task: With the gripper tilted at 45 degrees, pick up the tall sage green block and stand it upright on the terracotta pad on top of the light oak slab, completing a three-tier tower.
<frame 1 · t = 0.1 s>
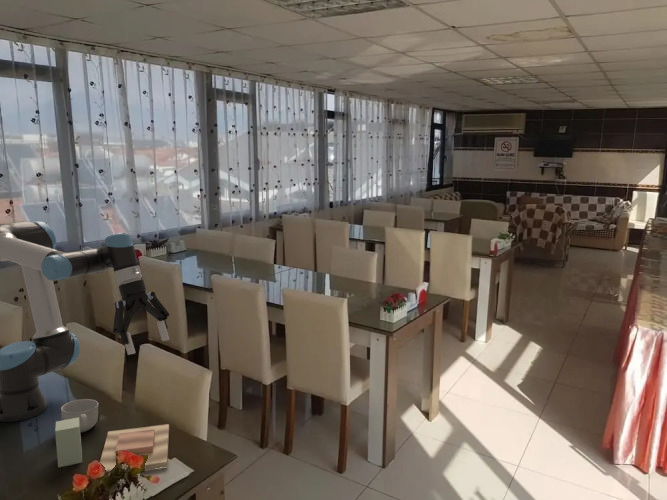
hand: (149, 347, 161), 28 cm above the table, tool tilted 20°, fingers open, 13 cm apart
pillar block: (70, 459, 148), on the table
teacup: (81, 431, 165), on the table
stand: (136, 452, 152), on the table
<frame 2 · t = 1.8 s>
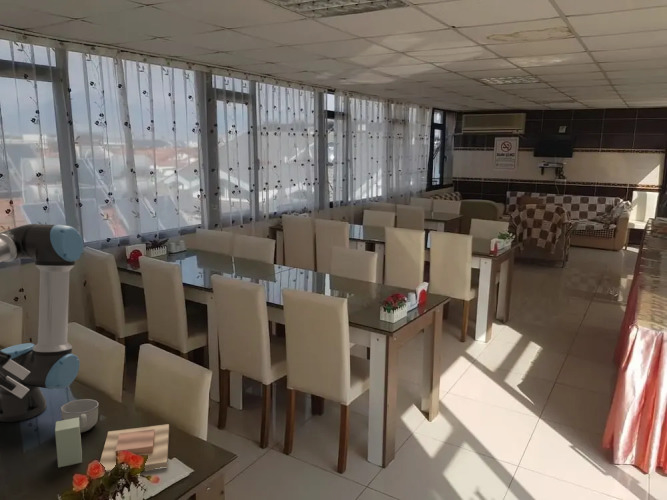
hand: (26, 384, 141), 25 cm above the table, tool tilted 45°, fingers open, 13 cm apart
nothing on the table moved.
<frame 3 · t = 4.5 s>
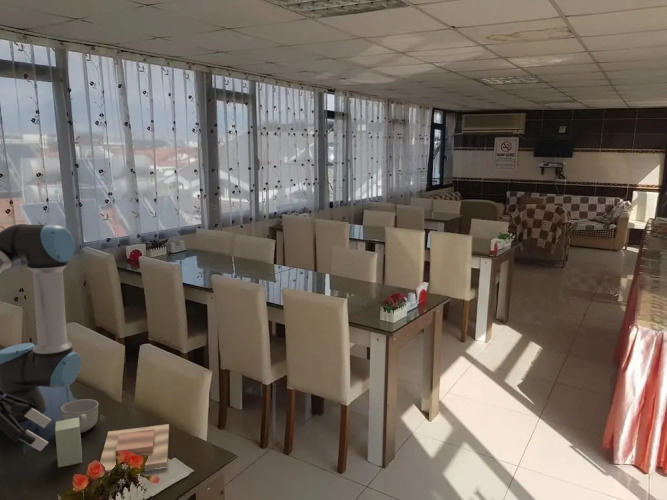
hand: (46, 434, 143), 10 cm above the table, tool tilted 45°, fingers open, 13 cm apart
nothing on the table moved.
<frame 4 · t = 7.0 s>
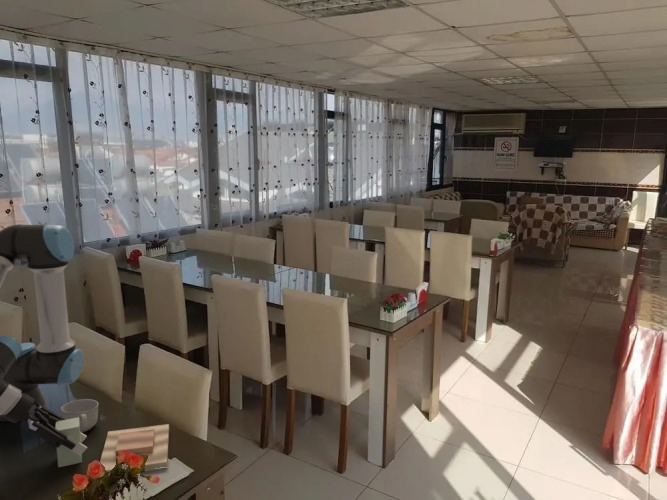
hand: (83, 445, 149), 3 cm above the table, tool tilted 45°, fingers closed on pillar block, 6 cm apart
pillar block: (70, 459, 148), on the table, touching gripper
everything else where it was.
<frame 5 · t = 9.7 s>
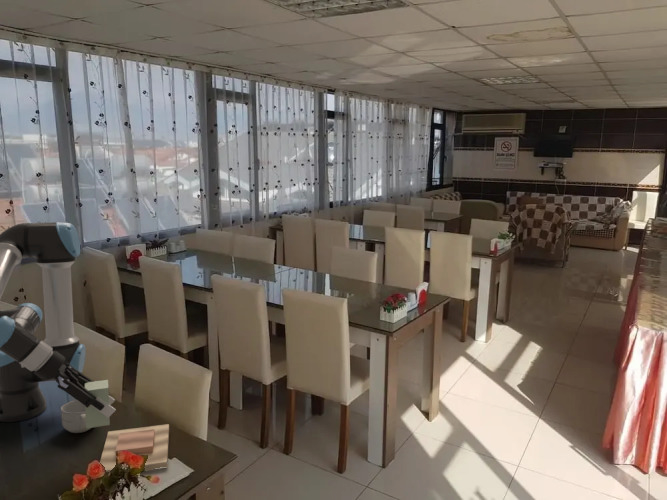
hand: (111, 408, 147), 15 cm above the table, tool tilted 45°, fingers closed on pillar block, 6 cm apart
pillar block: (98, 421, 146), point 12 cm above the table, touching gripper
everything else where it was.
when the fingers open (9 cm above the table, at t = 12.3 s): pillar block drops 1 cm, resting on stand.
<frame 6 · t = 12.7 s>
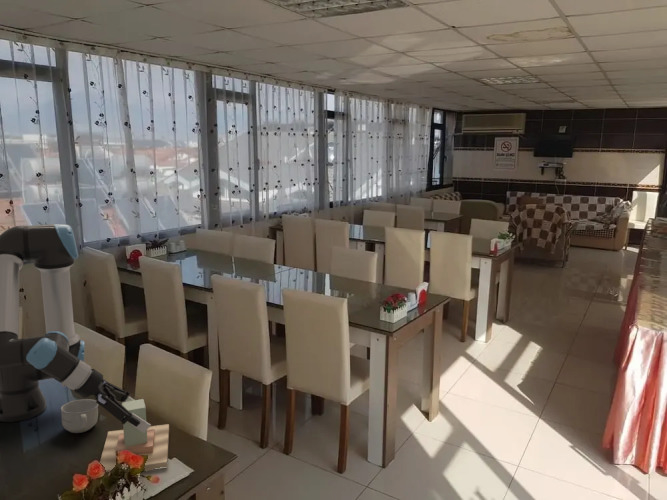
hand: (144, 419, 152), 10 cm above the table, tool tilted 45°, fingers open, 11 cm apart
pillar block: (135, 439, 152), point 4 cm above the table, touching stand
everything else where it was.
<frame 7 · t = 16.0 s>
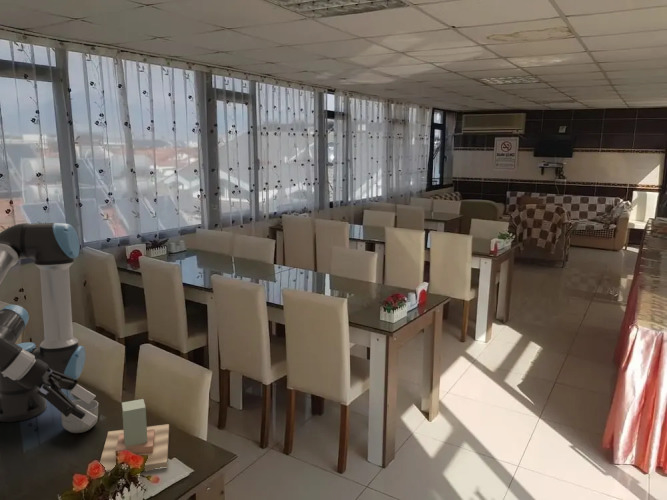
hand: (93, 410, 145), 16 cm above the table, tool tilted 45°, fingers open, 13 cm apart
nothing on the table moved.
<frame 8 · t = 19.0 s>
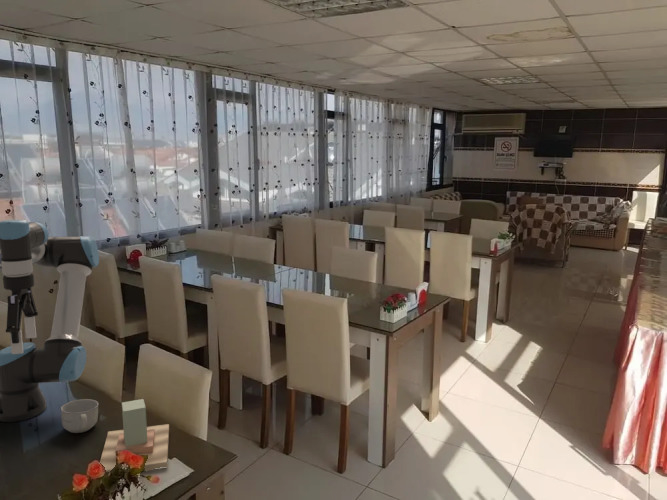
hand: (24, 345, 150), 32 cm above the table, tool pointing down, fingers open, 13 cm apart
nothing on the table moved.
at the end: pillar block inside the target area on the stand (0.1 cm from its centre), point 4.0 cm above the stand's base; pillar block tilted 0°; the gripper is holding nothing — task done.
